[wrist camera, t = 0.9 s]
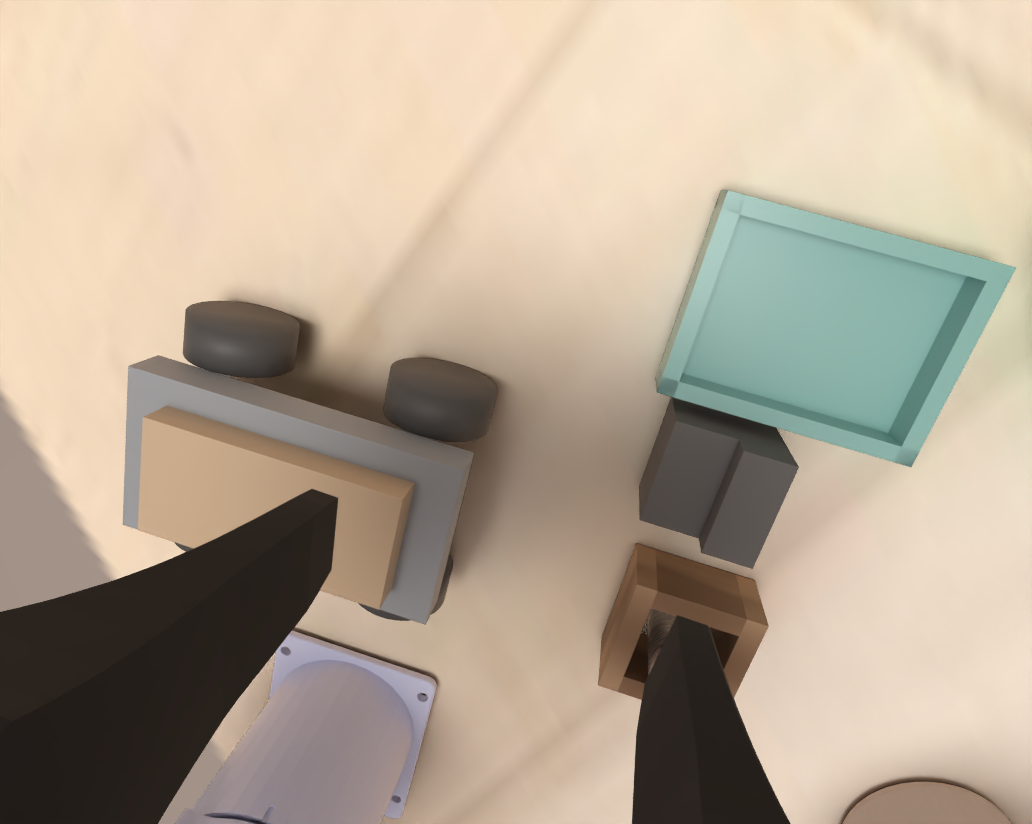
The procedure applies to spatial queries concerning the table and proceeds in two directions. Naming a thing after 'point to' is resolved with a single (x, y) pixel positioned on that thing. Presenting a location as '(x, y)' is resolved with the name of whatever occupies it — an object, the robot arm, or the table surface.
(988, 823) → the coffee cup
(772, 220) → the tray
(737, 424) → the block
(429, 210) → the table surface
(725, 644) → the pin socket
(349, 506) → the trolley
